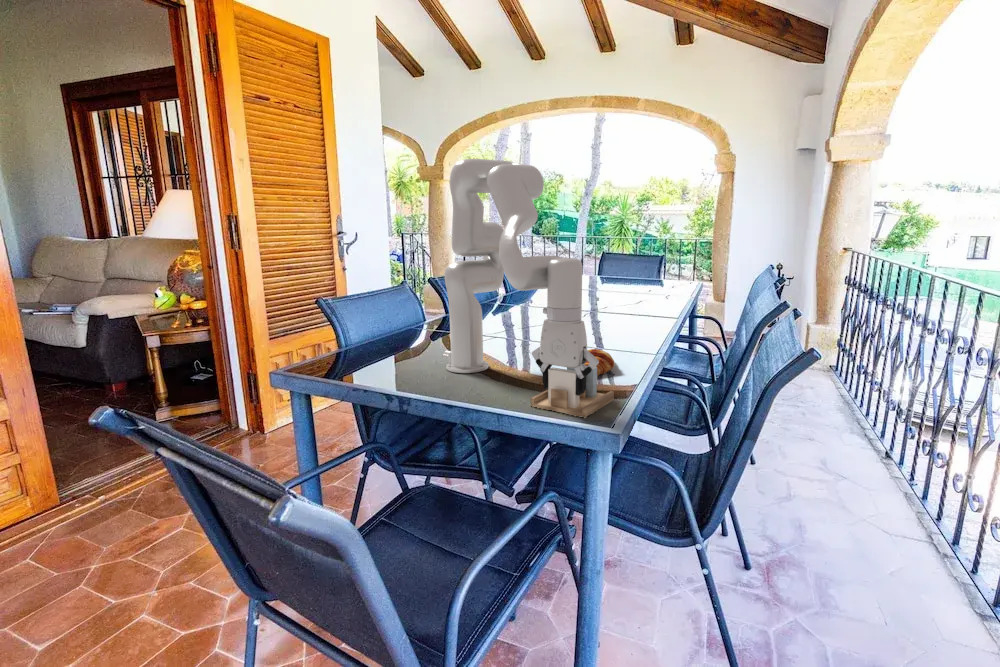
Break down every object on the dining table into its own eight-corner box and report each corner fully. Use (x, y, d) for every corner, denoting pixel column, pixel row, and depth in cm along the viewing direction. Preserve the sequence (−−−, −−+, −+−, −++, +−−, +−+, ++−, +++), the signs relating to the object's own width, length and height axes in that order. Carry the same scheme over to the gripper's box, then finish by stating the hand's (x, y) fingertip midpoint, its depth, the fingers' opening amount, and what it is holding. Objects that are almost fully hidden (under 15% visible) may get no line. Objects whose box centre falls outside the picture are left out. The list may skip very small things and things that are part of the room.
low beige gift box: (548, 402, 121) (548, 369, 120) (552, 400, 123) (552, 367, 121) (575, 408, 117) (575, 373, 116) (579, 405, 119) (579, 371, 117)
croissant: (598, 371, 162) (587, 348, 163) (627, 359, 157) (615, 335, 158) (574, 389, 144) (561, 363, 144) (605, 376, 139) (593, 349, 139)
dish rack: (530, 406, 122) (530, 373, 120) (562, 389, 134) (562, 359, 132) (585, 418, 114) (585, 383, 112) (613, 399, 125) (614, 367, 124)
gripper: (522, 313, 118) (522, 388, 121) (592, 320, 108) (591, 402, 111) (539, 309, 124) (539, 380, 127) (608, 315, 114) (606, 392, 117)
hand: (563, 390), depth 119 cm, fingers open, 7 cm apart
